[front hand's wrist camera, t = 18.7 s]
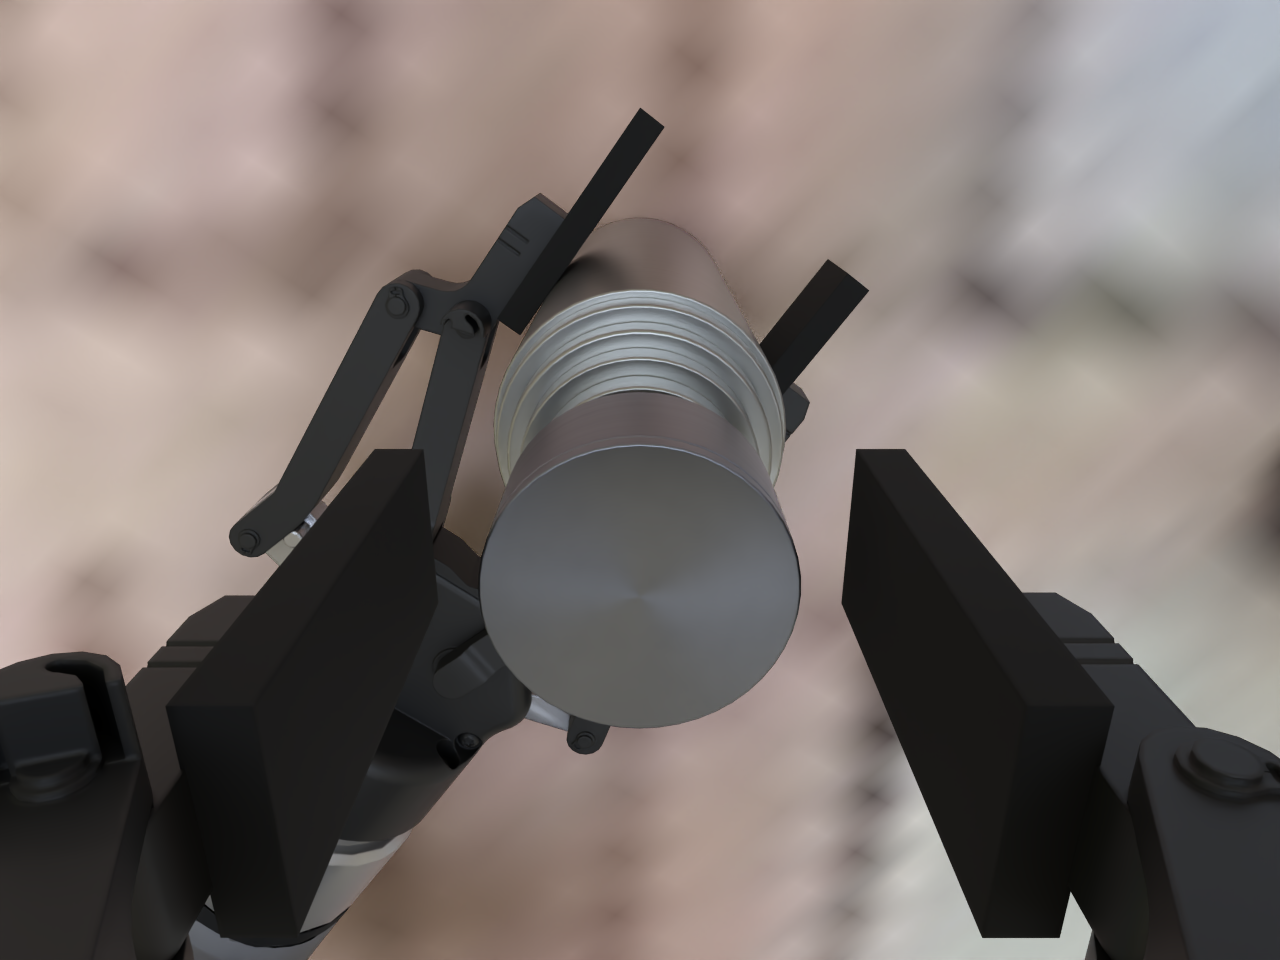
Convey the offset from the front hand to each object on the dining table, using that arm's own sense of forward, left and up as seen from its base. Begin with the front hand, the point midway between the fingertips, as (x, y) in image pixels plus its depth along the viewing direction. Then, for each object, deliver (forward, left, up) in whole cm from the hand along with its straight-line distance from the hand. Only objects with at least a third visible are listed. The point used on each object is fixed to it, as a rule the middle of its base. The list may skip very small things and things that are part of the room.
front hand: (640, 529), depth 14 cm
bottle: (0, 0, -19) cm, 19 cm away
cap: (0, 0, +2) cm, 2 cm away
